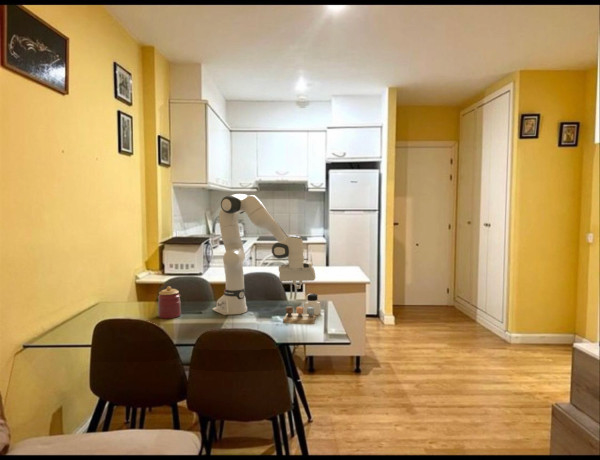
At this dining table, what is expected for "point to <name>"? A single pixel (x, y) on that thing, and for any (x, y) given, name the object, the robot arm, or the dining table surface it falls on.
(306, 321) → the button board
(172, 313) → the canister
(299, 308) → the peach rounded knob
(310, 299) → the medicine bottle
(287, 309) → the brown rounded piece
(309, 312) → the slate-blue button
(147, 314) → the dining table surface
